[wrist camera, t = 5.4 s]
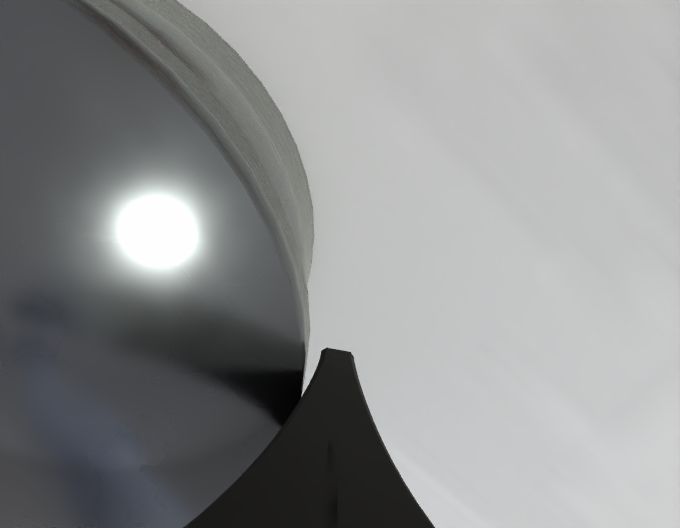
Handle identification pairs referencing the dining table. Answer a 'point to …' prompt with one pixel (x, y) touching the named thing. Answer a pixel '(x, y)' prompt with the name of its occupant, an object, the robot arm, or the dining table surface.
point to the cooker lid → (132, 279)
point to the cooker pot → (236, 105)
